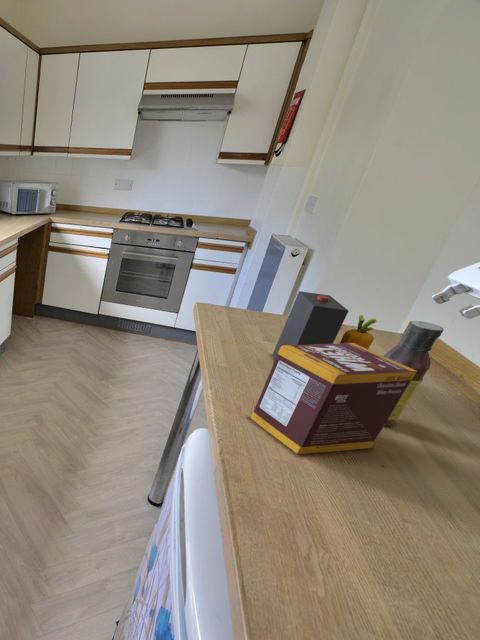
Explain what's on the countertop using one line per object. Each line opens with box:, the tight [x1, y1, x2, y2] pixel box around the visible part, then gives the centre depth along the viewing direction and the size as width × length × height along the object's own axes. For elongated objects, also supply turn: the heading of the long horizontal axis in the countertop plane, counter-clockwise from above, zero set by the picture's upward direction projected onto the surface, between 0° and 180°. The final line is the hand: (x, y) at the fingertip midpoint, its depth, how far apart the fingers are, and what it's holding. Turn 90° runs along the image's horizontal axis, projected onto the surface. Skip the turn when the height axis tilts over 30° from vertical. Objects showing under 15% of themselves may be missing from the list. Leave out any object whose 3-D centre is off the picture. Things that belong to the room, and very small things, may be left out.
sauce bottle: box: [383, 320, 444, 426], centre depth 75 cm, size 7×6×20 cm
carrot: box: [339, 314, 378, 350], centre depth 91 cm, size 5×5×15 cm
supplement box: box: [250, 342, 417, 455], centre depth 71 cm, size 10×15×16 cm
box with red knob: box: [271, 290, 349, 360], centre depth 92 cm, size 18×11×18 cm, turn 67°
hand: (448, 307), depth 83 cm, fingers open, 8 cm apart
